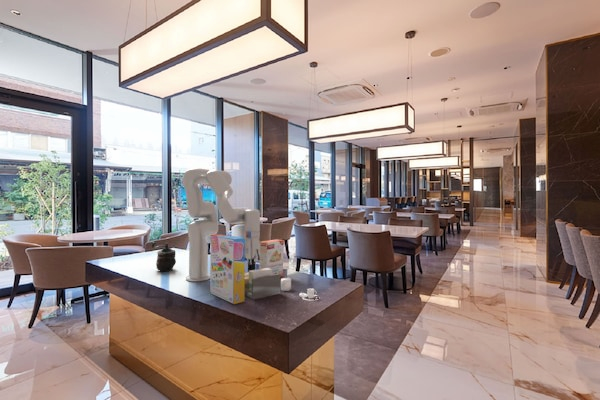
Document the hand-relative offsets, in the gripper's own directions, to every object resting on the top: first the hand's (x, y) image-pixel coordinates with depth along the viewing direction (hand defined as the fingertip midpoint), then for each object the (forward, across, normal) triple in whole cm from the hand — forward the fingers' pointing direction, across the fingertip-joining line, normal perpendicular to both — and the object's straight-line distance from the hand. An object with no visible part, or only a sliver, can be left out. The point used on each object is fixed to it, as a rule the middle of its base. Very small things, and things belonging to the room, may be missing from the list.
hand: (251, 272), depth 145 cm
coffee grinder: (+8, -61, -26) cm, 67 cm away
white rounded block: (+8, +11, +13) cm, 19 cm away
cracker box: (+8, -10, +18) cm, 22 cm away
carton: (+2, +6, 0) cm, 7 cm away
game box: (+8, +6, -15) cm, 18 cm away
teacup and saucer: (+9, +24, +16) cm, 31 cm away
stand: (+8, +5, 0) cm, 9 cm away
